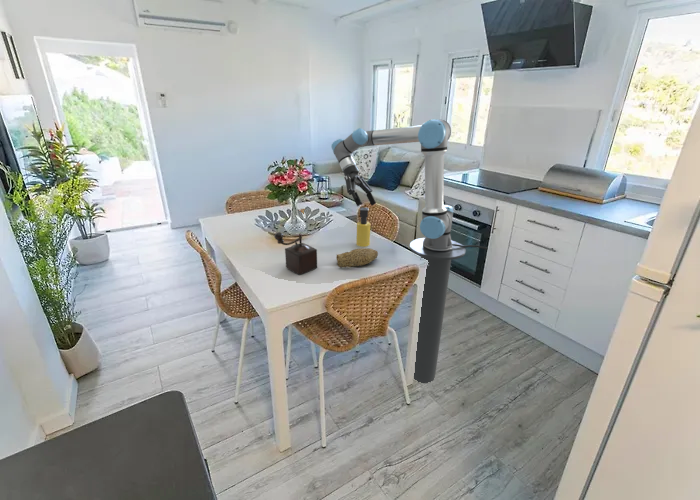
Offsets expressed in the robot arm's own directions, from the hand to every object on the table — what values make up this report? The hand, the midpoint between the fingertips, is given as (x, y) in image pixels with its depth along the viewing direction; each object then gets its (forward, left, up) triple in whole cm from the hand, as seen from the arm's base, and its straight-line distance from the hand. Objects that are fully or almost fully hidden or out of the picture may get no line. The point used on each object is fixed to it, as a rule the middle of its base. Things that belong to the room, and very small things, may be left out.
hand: (367, 204), depth 175 cm
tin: (+41, -36, -23) cm, 59 cm away
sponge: (+3, +22, -23) cm, 32 cm away
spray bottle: (+1, -2, -23) cm, 23 cm away
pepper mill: (+30, +31, -23) cm, 49 cm away
